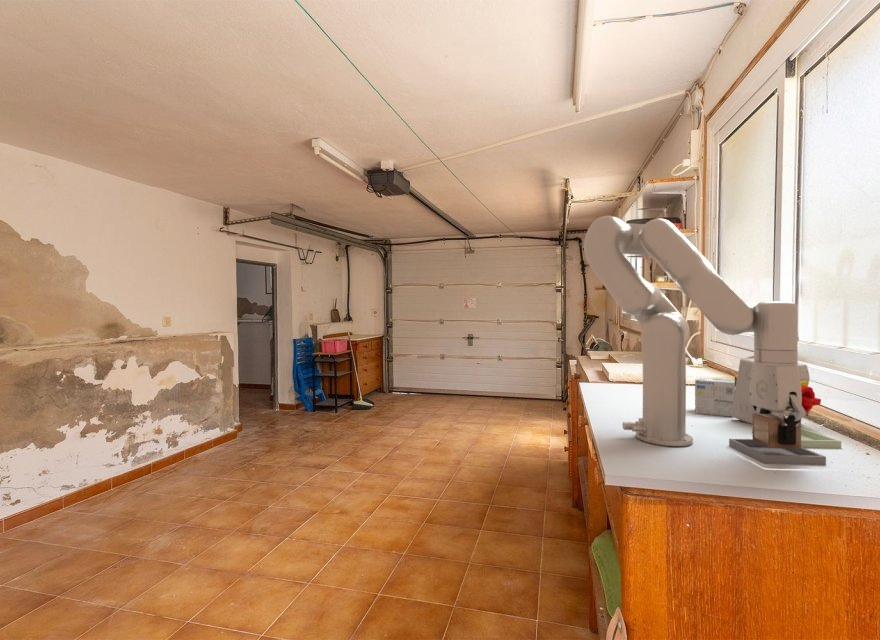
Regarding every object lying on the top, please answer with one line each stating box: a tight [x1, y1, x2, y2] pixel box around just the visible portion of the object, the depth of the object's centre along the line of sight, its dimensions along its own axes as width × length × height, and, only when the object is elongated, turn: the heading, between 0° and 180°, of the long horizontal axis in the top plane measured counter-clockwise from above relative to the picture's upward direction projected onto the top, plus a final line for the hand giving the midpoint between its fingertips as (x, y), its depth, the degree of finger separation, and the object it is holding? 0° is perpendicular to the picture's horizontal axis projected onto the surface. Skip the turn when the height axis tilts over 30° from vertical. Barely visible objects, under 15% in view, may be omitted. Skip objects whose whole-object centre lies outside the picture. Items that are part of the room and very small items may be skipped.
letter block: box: [752, 414, 802, 449], centre depth 94 cm, size 6×6×6 cm
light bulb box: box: [694, 376, 736, 418], centre depth 135 cm, size 11×7×11 cm, turn 58°
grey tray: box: [728, 438, 827, 466], centre depth 94 cm, size 12×12×2 cm
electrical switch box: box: [731, 354, 822, 425], centre depth 119 cm, size 15×15×20 cm
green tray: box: [751, 426, 842, 449], centre depth 105 cm, size 12×12×2 cm
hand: (775, 438), depth 94 cm, fingers closed on letter block, 6 cm apart
